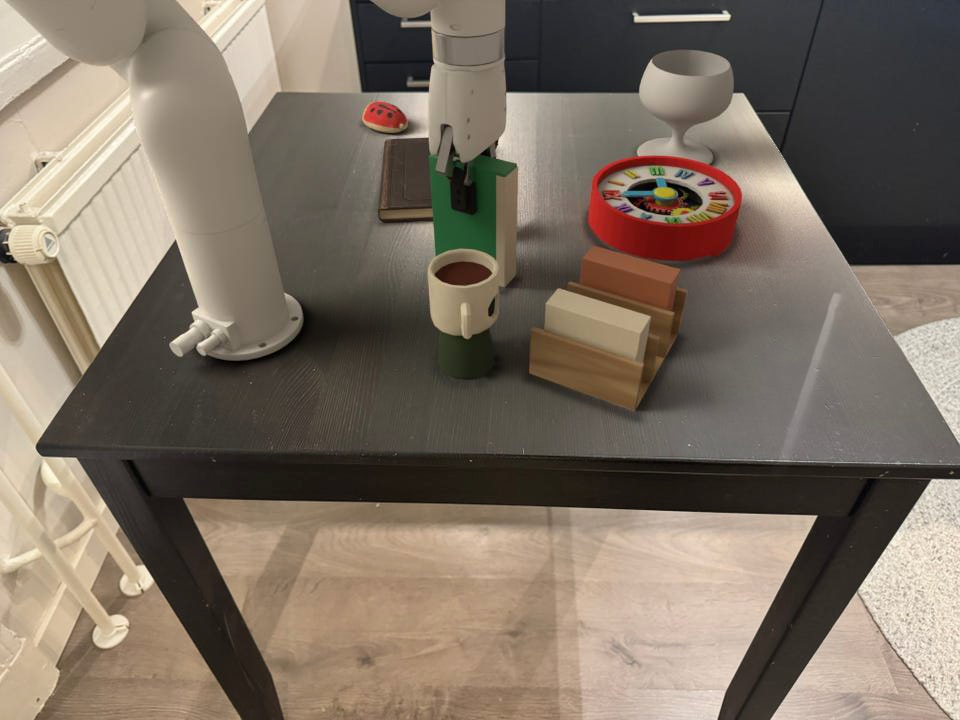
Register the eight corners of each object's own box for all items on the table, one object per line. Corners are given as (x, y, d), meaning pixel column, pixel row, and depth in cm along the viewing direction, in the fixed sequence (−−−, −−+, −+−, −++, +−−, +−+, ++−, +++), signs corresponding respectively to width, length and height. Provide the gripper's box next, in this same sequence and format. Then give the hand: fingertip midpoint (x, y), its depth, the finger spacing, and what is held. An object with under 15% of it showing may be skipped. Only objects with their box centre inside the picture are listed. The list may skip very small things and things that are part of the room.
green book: (504, 292, 91) (505, 174, 80) (435, 270, 94) (428, 155, 84) (515, 279, 93) (518, 163, 82) (448, 259, 96) (442, 145, 86)
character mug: (503, 397, 76) (504, 297, 68) (435, 401, 76) (428, 301, 68) (494, 332, 85) (494, 236, 76) (433, 336, 84) (426, 239, 76)
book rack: (633, 416, 74) (642, 366, 70) (528, 378, 79) (530, 329, 74) (677, 337, 83) (688, 289, 79) (581, 307, 88) (586, 260, 84)
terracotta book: (658, 350, 81) (671, 283, 75) (576, 323, 84) (582, 258, 78) (667, 335, 83) (680, 269, 77) (586, 309, 86) (592, 245, 80)
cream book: (629, 401, 75) (640, 333, 69) (541, 369, 78) (545, 303, 72) (639, 383, 77) (651, 316, 71) (553, 354, 80) (558, 287, 74)
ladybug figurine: (381, 113, 133) (379, 93, 131) (419, 127, 128) (417, 107, 126) (353, 124, 130) (350, 105, 127) (391, 140, 125) (389, 119, 122)
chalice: (636, 134, 125) (648, 44, 115) (719, 143, 122) (739, 50, 112) (626, 170, 115) (638, 75, 105) (717, 181, 112) (738, 83, 102)
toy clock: (759, 226, 90) (598, 225, 91) (748, 266, 94) (594, 265, 95) (724, 155, 105) (586, 155, 106) (716, 191, 109) (582, 191, 110)
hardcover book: (480, 148, 122) (480, 135, 120) (490, 218, 104) (490, 203, 103) (385, 152, 121) (383, 139, 120) (378, 222, 104) (377, 208, 102)
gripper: (476, 17, 81) (479, 168, 94) (392, 64, 71) (408, 228, 83) (536, 26, 79) (531, 181, 91) (459, 76, 68) (465, 244, 80)
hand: (472, 202), depth 87 cm, fingers open, 3 cm apart
